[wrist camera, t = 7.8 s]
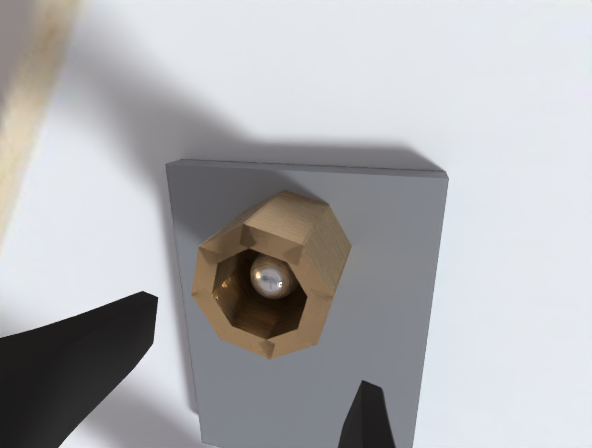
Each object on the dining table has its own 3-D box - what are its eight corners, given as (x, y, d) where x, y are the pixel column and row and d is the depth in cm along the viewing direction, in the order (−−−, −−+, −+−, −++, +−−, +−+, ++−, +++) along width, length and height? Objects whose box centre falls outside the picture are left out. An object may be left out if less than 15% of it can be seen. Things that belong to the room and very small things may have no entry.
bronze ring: (276, 307, 21) (239, 369, 16) (223, 221, 20) (168, 261, 15) (367, 273, 19) (354, 333, 14) (313, 173, 18) (280, 204, 13)
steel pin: (286, 272, 20) (259, 315, 16) (266, 237, 19) (233, 272, 16) (322, 257, 19) (301, 299, 15) (301, 220, 19) (274, 253, 15)
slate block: (406, 473, 24) (406, 496, 23) (212, 425, 28) (202, 442, 27) (445, 171, 17) (448, 178, 16) (181, 159, 21) (165, 164, 20)
